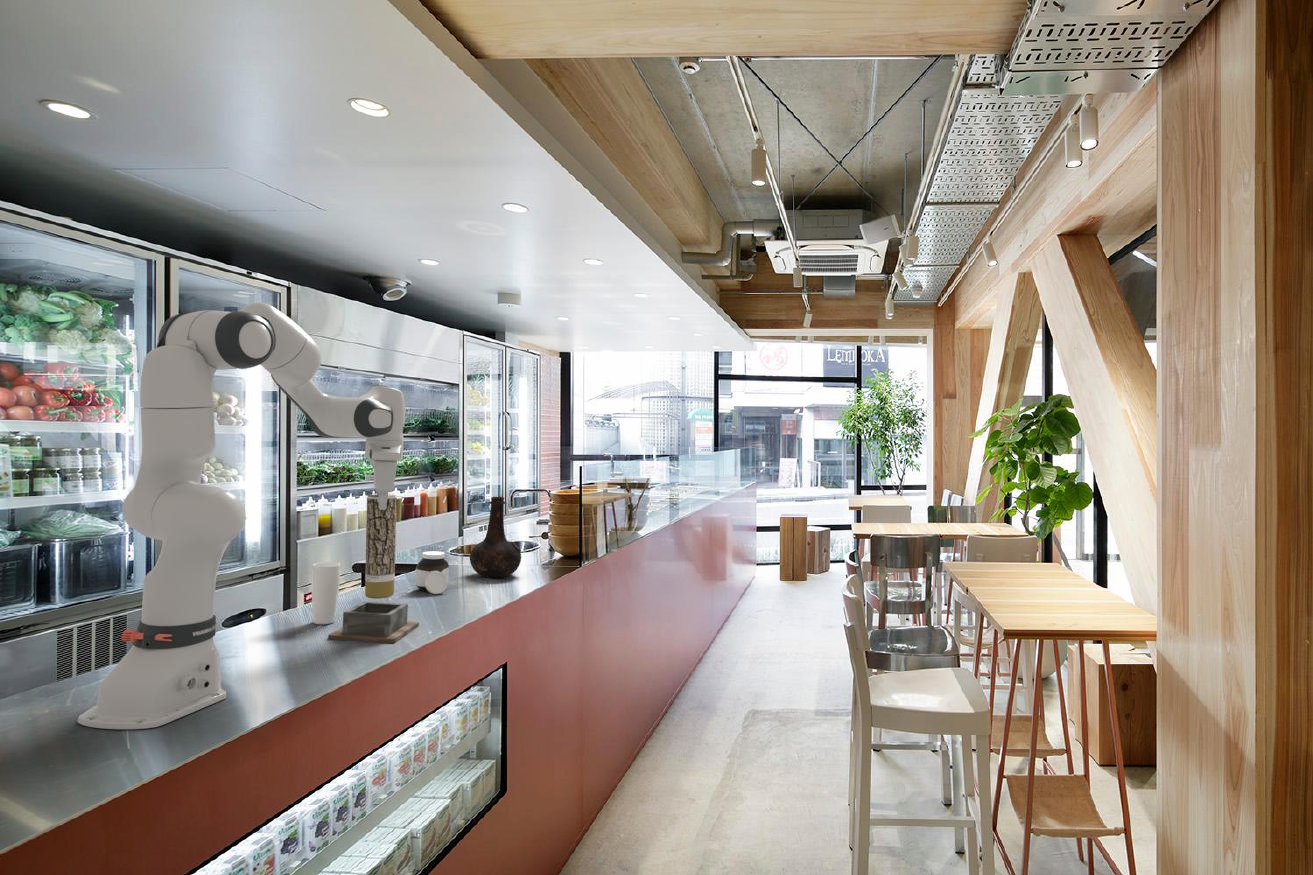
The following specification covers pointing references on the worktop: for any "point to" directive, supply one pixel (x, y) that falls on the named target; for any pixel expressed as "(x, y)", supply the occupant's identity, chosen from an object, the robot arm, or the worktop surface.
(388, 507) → the paper tube
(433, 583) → the spread jar
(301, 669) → the worktop surface
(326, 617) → the drinking glass
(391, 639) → the grey square open box
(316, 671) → the worktop surface
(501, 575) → the dark brown vase
